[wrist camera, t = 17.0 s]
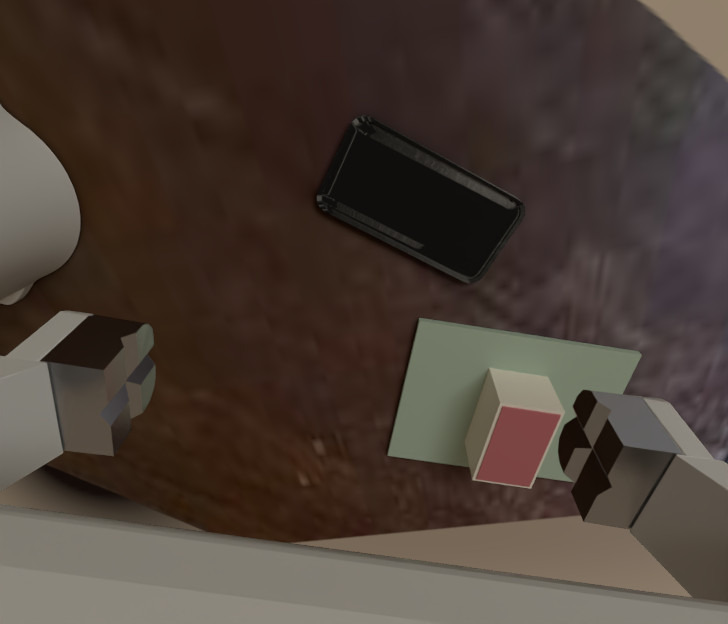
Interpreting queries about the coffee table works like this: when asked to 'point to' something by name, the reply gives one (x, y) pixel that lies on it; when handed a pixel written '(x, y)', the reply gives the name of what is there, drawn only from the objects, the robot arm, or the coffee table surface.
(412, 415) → the mat
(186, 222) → the coffee table surface
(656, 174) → the coffee table surface
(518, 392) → the card case
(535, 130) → the coffee table surface
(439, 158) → the phone
